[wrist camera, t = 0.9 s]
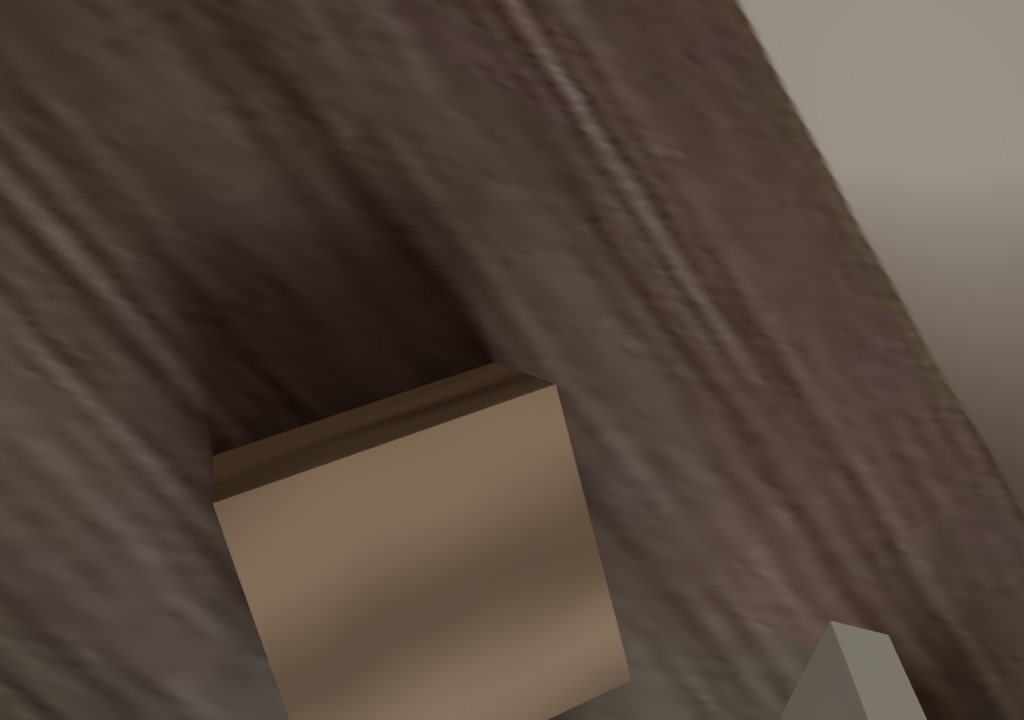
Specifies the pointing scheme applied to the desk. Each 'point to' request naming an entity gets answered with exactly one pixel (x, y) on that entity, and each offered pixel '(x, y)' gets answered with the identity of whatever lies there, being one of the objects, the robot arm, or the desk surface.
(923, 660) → the desk surface
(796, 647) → the desk surface
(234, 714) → the desk surface
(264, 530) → the walnut block
